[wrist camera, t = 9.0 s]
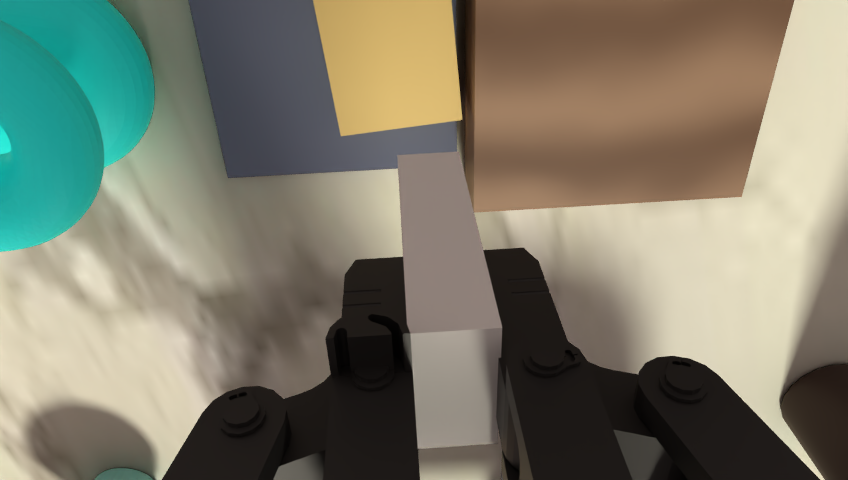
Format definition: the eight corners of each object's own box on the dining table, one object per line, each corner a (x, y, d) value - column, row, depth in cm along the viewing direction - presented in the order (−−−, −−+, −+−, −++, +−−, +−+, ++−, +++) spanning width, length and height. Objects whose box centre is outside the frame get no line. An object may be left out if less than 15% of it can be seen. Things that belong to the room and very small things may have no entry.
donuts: (-266, -13, 20) (73, 39, 22) (-77, -61, 29) (158, -21, 30) (-170, 250, 25) (98, 278, 27) (-34, 144, 34) (165, 170, 35)
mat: (456, 161, 36) (456, 165, 36) (229, 173, 36) (228, 178, 35) (453, -183, 27) (454, -183, 27) (154, -171, 27) (150, -171, 26)
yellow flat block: (457, 102, 34) (462, 119, 32) (343, 117, 34) (340, 136, 32) (439, -90, 29) (443, -84, 27) (305, -72, 29) (300, -64, 27)
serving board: (708, 162, 37) (741, 196, 34) (464, 176, 36) (473, 212, 33) (797, -225, 27) (856, -231, 24) (465, -212, 27) (478, -217, 23)
